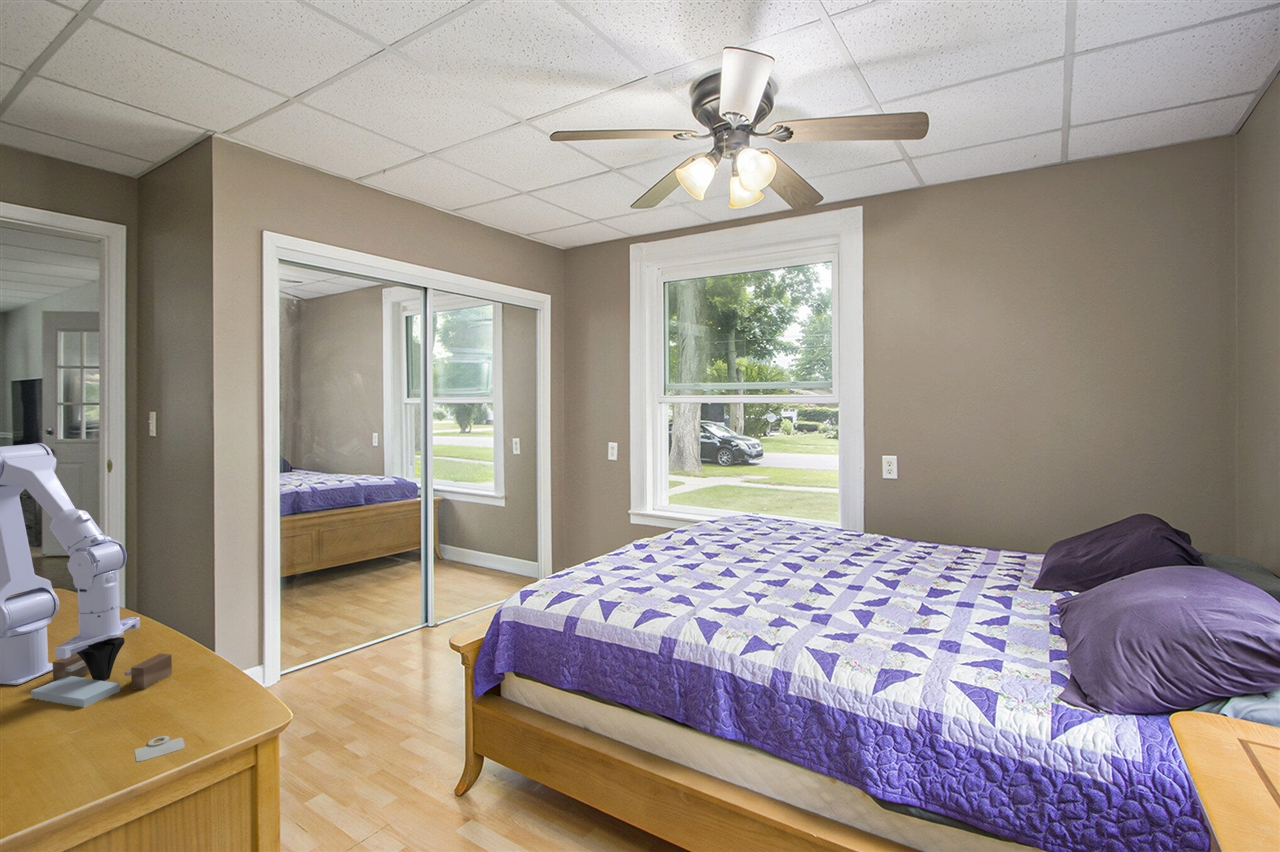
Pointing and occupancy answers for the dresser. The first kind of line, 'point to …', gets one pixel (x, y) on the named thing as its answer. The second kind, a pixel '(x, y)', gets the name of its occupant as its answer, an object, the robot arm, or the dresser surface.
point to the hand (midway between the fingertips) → (101, 679)
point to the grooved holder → (139, 673)
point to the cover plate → (75, 691)
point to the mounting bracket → (159, 748)
